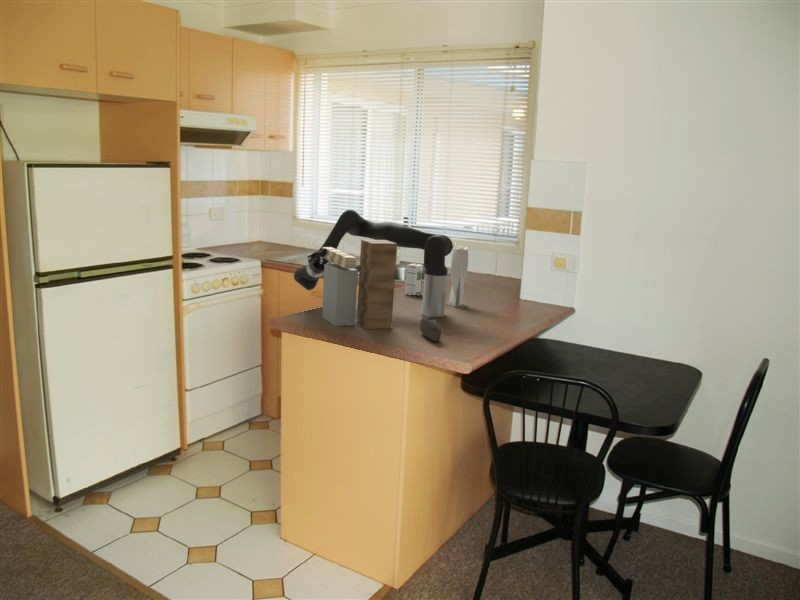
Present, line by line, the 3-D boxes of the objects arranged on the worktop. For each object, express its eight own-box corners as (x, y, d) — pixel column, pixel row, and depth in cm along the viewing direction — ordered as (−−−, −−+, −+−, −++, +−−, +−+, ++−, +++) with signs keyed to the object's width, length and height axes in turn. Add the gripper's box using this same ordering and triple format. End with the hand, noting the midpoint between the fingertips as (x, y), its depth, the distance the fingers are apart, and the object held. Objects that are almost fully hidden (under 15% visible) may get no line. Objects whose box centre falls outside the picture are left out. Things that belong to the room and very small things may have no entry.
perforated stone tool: (444, 344, 235) (446, 325, 234) (430, 344, 234) (431, 325, 232) (432, 333, 249) (433, 315, 248) (418, 333, 248) (419, 315, 247)
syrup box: (415, 296, 315) (417, 265, 312) (404, 294, 318) (406, 264, 315) (421, 294, 319) (423, 264, 316) (410, 292, 322) (412, 263, 319)
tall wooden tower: (356, 322, 257) (361, 239, 250) (380, 321, 261) (385, 239, 255) (367, 329, 248) (372, 243, 241) (391, 328, 252) (397, 243, 246)
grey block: (322, 317, 262) (324, 264, 257) (341, 316, 265) (343, 263, 261) (334, 326, 250) (337, 270, 245) (354, 325, 253) (357, 270, 249)
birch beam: (321, 257, 266) (321, 246, 265) (330, 256, 268) (331, 247, 267) (345, 268, 243) (346, 257, 242) (356, 268, 245) (356, 257, 244)
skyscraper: (442, 304, 302) (447, 242, 296) (453, 302, 308) (459, 241, 302) (457, 307, 296) (463, 244, 290) (468, 305, 302) (474, 243, 296)
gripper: (300, 257, 274) (312, 241, 259) (332, 257, 280) (347, 241, 265) (302, 274, 272) (315, 259, 257) (335, 273, 278) (349, 259, 264)
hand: (331, 250), depth 261 cm, fingers closed on birch beam, 4 cm apart
